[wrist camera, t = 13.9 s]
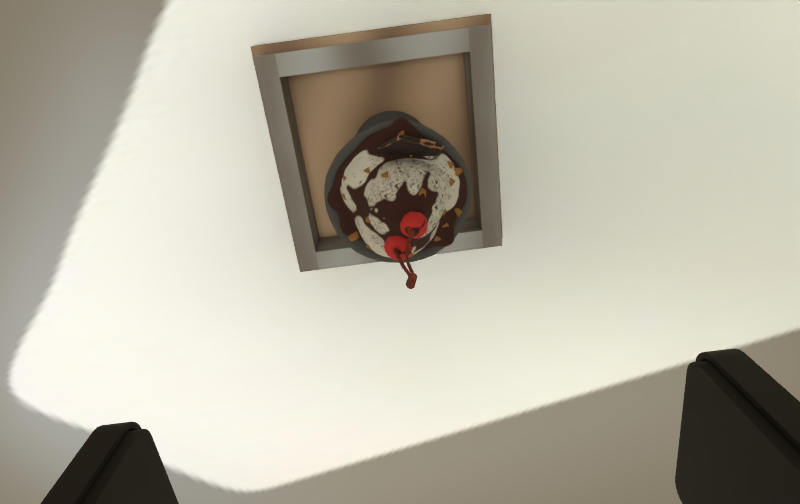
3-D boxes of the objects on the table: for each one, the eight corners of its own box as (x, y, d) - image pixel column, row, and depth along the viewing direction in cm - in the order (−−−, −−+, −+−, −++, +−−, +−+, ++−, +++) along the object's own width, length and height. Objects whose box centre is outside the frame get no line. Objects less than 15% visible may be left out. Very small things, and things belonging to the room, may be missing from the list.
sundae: (390, 222, 35) (400, 346, 21) (317, 148, 33) (273, 231, 19) (466, 154, 33) (531, 240, 19) (395, 72, 31) (409, 103, 17)
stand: (486, 14, 31) (500, 12, 28) (498, 231, 37) (511, 252, 33) (255, 45, 31) (240, 47, 28) (301, 257, 37) (293, 280, 33)
